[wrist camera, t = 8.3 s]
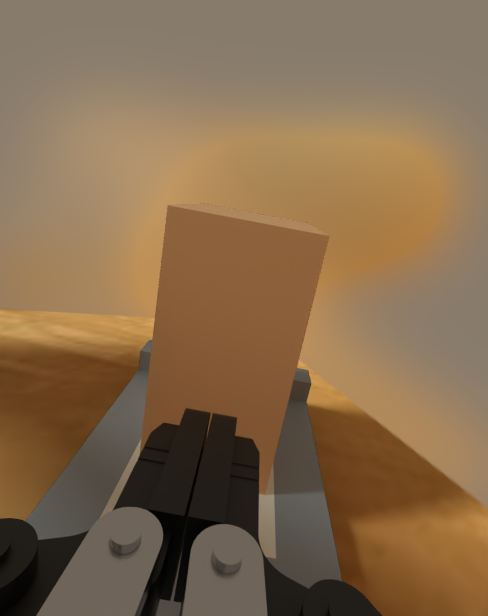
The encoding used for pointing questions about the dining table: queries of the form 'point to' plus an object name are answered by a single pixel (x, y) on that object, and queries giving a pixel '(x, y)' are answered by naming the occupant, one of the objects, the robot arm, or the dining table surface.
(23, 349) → the dining table surface
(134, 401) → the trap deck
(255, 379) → the tan rectangular block
